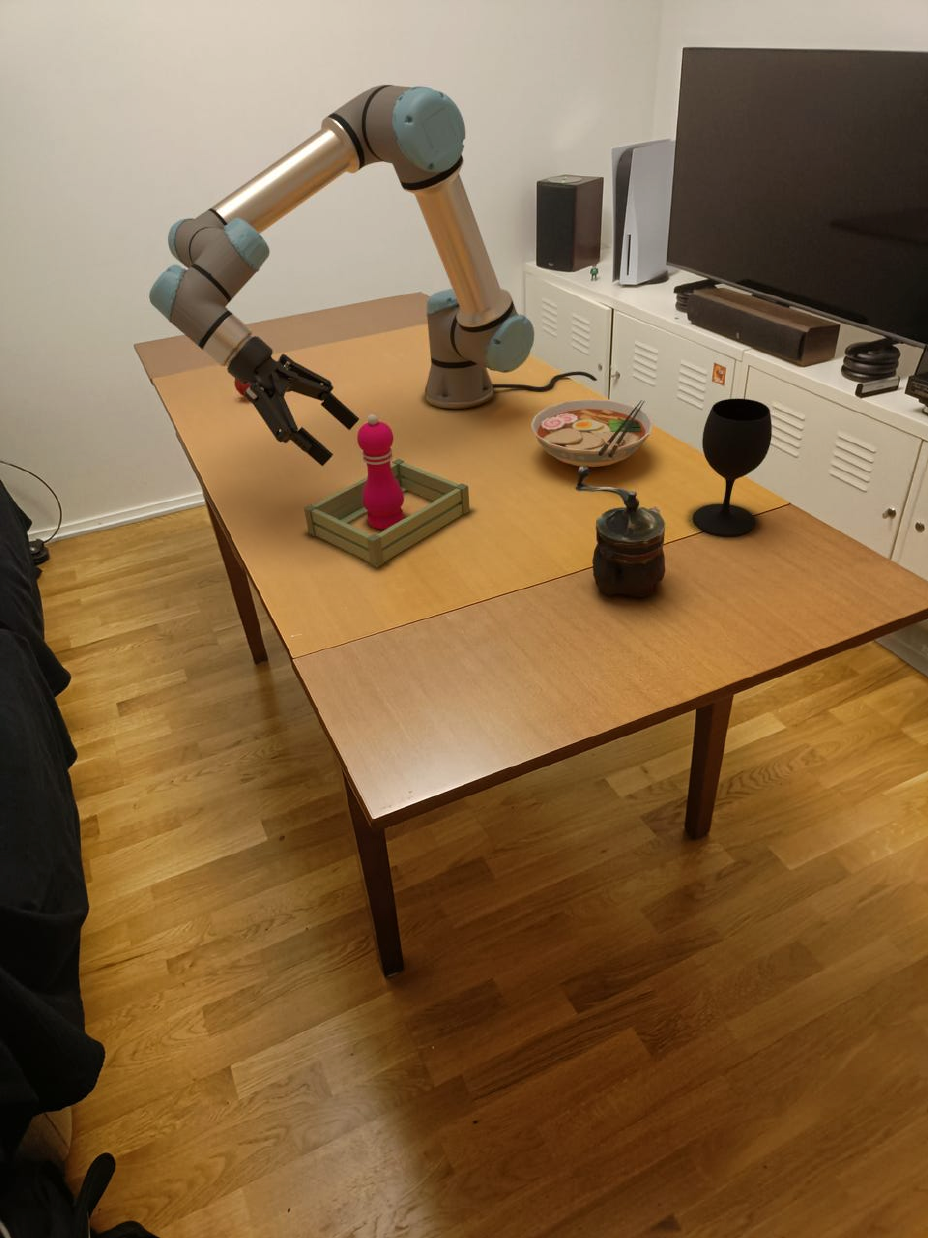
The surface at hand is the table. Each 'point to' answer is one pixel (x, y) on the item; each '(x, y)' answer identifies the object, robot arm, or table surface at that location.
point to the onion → (241, 387)
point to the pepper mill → (380, 475)
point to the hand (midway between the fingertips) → (341, 442)
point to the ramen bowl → (591, 431)
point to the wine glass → (733, 459)
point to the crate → (347, 506)
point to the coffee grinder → (627, 545)
